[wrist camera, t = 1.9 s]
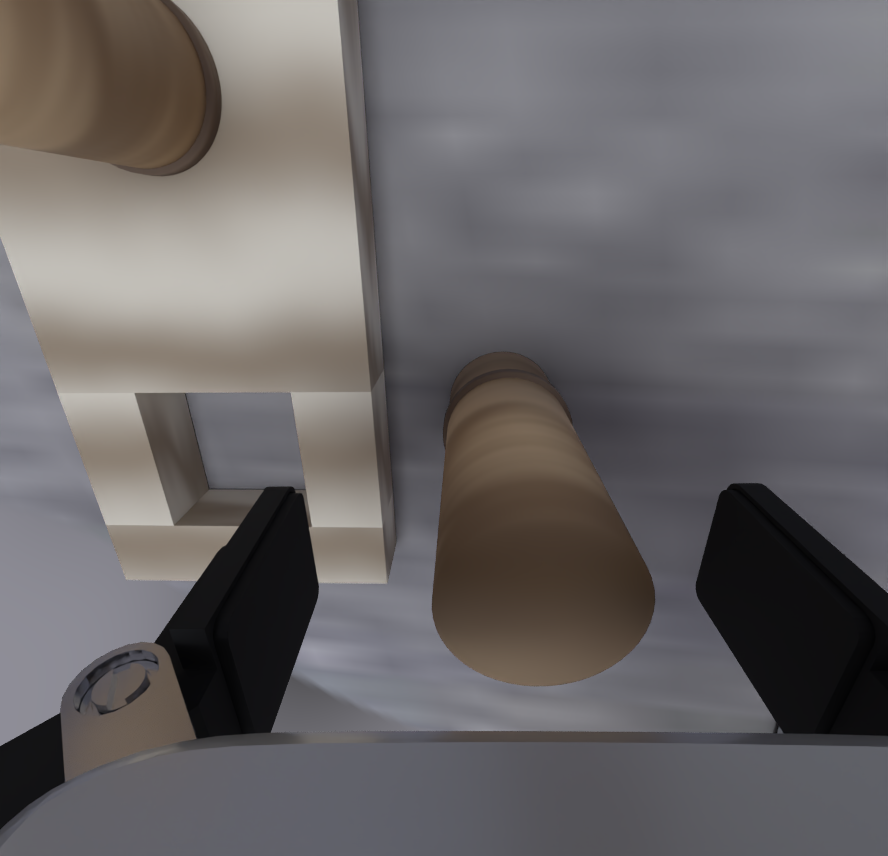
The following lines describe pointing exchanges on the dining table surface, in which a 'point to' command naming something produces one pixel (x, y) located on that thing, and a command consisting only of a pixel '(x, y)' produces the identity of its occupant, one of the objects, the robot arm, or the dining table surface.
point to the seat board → (200, 257)
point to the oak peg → (530, 537)
